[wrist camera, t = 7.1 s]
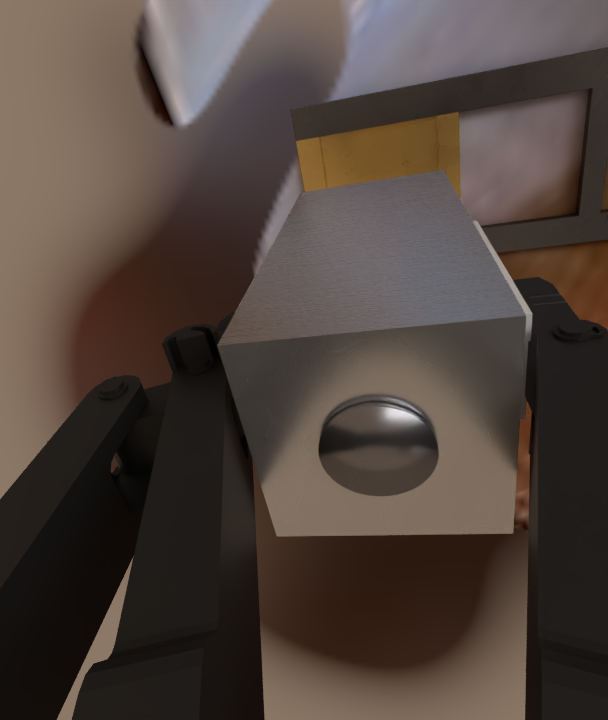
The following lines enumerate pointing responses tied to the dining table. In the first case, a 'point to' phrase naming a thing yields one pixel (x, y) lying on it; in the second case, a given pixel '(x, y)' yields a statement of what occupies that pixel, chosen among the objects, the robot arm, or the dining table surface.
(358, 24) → the dining table surface
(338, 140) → the grey flat rectangular frame
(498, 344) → the grey rectangular block
